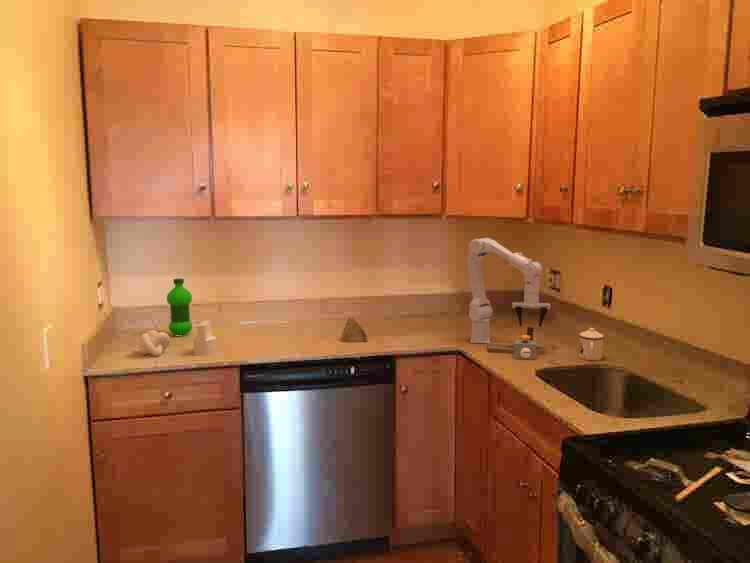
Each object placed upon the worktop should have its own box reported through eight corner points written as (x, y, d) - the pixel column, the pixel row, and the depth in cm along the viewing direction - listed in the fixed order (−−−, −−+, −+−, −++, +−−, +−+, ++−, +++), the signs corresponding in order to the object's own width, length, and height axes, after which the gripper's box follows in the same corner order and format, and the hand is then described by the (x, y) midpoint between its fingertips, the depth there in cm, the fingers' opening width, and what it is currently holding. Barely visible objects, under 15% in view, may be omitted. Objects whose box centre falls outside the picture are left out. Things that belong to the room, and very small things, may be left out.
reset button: (520, 340, 245) (520, 334, 245) (529, 341, 245) (529, 335, 244) (520, 343, 242) (521, 336, 241) (530, 343, 241) (530, 337, 241)
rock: (373, 334, 271) (354, 328, 276) (368, 321, 265) (349, 315, 270) (360, 353, 265) (341, 346, 270) (355, 340, 259) (336, 334, 264)
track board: (487, 346, 260) (487, 342, 260) (542, 348, 257) (542, 345, 256) (487, 352, 251) (488, 348, 251) (544, 354, 248) (544, 350, 248)
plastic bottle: (168, 333, 281) (165, 278, 277) (193, 331, 285) (190, 277, 281) (168, 338, 272) (165, 281, 268) (193, 336, 275) (191, 280, 271)
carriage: (521, 344, 256) (522, 325, 255) (536, 345, 255) (537, 326, 254) (522, 348, 250) (523, 329, 249) (537, 348, 249) (538, 329, 248)
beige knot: (129, 355, 245) (128, 333, 244) (153, 348, 255) (152, 327, 254) (150, 359, 240) (149, 336, 238) (174, 352, 250) (173, 330, 249)
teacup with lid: (577, 353, 250) (579, 324, 248) (602, 355, 247) (603, 326, 245) (578, 361, 238) (579, 331, 237) (603, 363, 236) (605, 333, 234)
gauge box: (513, 354, 248) (514, 339, 247) (534, 355, 247) (535, 340, 246) (514, 359, 241) (515, 344, 240) (536, 360, 240) (536, 344, 239)
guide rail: (489, 345, 256) (489, 342, 256) (541, 347, 253) (542, 344, 253) (489, 346, 255) (489, 343, 254) (542, 348, 251) (542, 345, 251)
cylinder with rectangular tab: (213, 355, 245) (212, 325, 243) (190, 355, 245) (189, 325, 243) (219, 349, 254) (218, 320, 252) (197, 349, 254) (196, 320, 252)
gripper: (513, 293, 246) (512, 327, 249) (551, 294, 244) (550, 328, 246) (512, 290, 253) (511, 323, 255) (549, 291, 251) (548, 324, 253)
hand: (530, 326), depth 251 cm, fingers open, 7 cm apart
